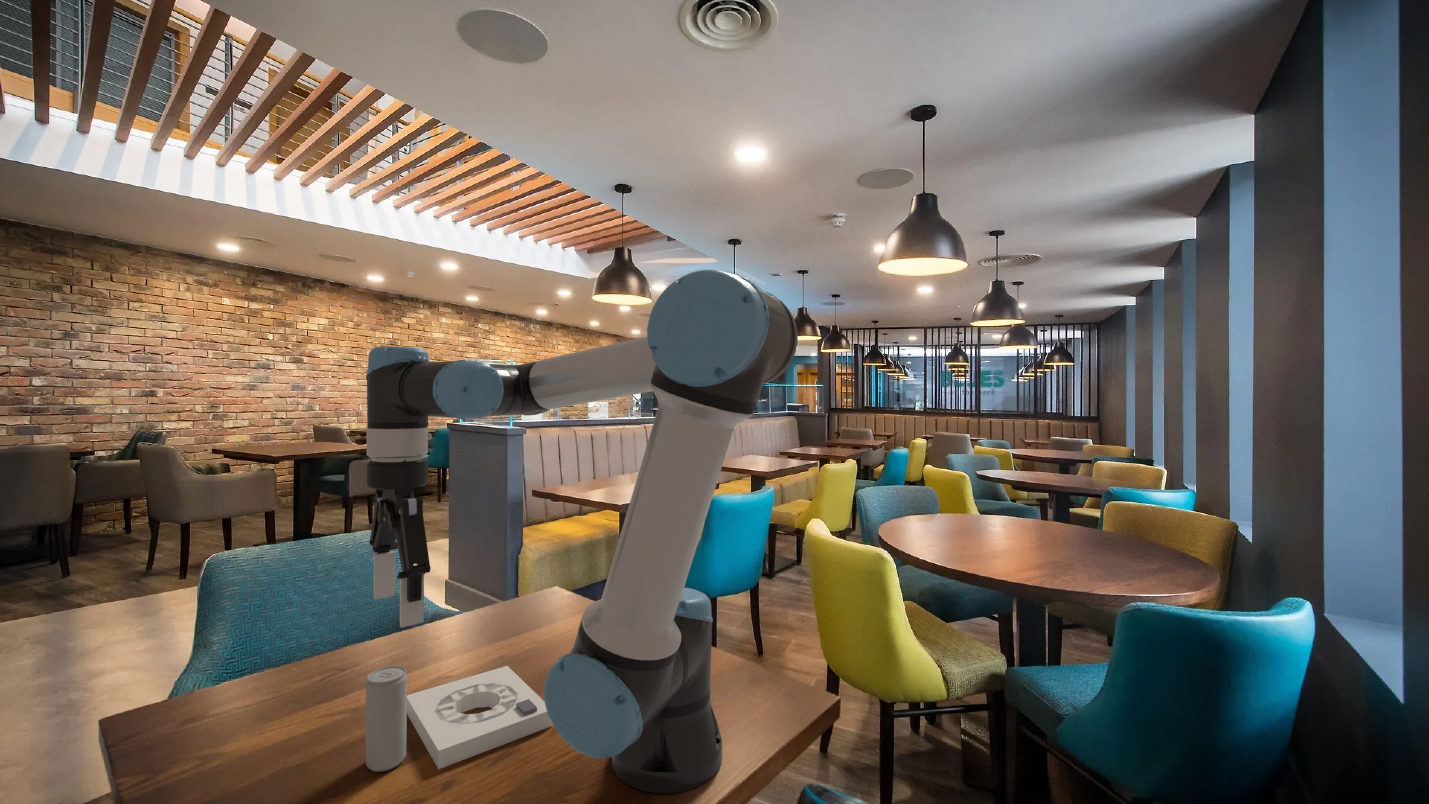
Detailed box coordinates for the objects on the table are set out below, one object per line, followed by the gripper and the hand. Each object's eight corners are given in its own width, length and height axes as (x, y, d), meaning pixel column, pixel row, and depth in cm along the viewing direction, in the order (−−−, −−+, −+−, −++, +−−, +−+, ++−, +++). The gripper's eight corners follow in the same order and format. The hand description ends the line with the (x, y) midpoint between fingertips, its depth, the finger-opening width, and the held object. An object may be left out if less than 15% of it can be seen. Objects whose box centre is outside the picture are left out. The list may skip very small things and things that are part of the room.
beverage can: (388, 776, 75) (388, 684, 75) (356, 771, 76) (356, 680, 76) (414, 754, 80) (415, 667, 80) (384, 749, 81) (384, 663, 81)
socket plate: (552, 725, 87) (552, 705, 87) (438, 769, 77) (438, 746, 77) (507, 679, 101) (507, 662, 101) (405, 711, 91) (405, 691, 91)
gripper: (457, 465, 74) (456, 629, 75) (402, 449, 93) (401, 581, 93) (392, 469, 69) (391, 646, 70) (347, 452, 88) (346, 592, 88)
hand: (397, 609), depth 81 cm, fingers open, 13 cm apart
